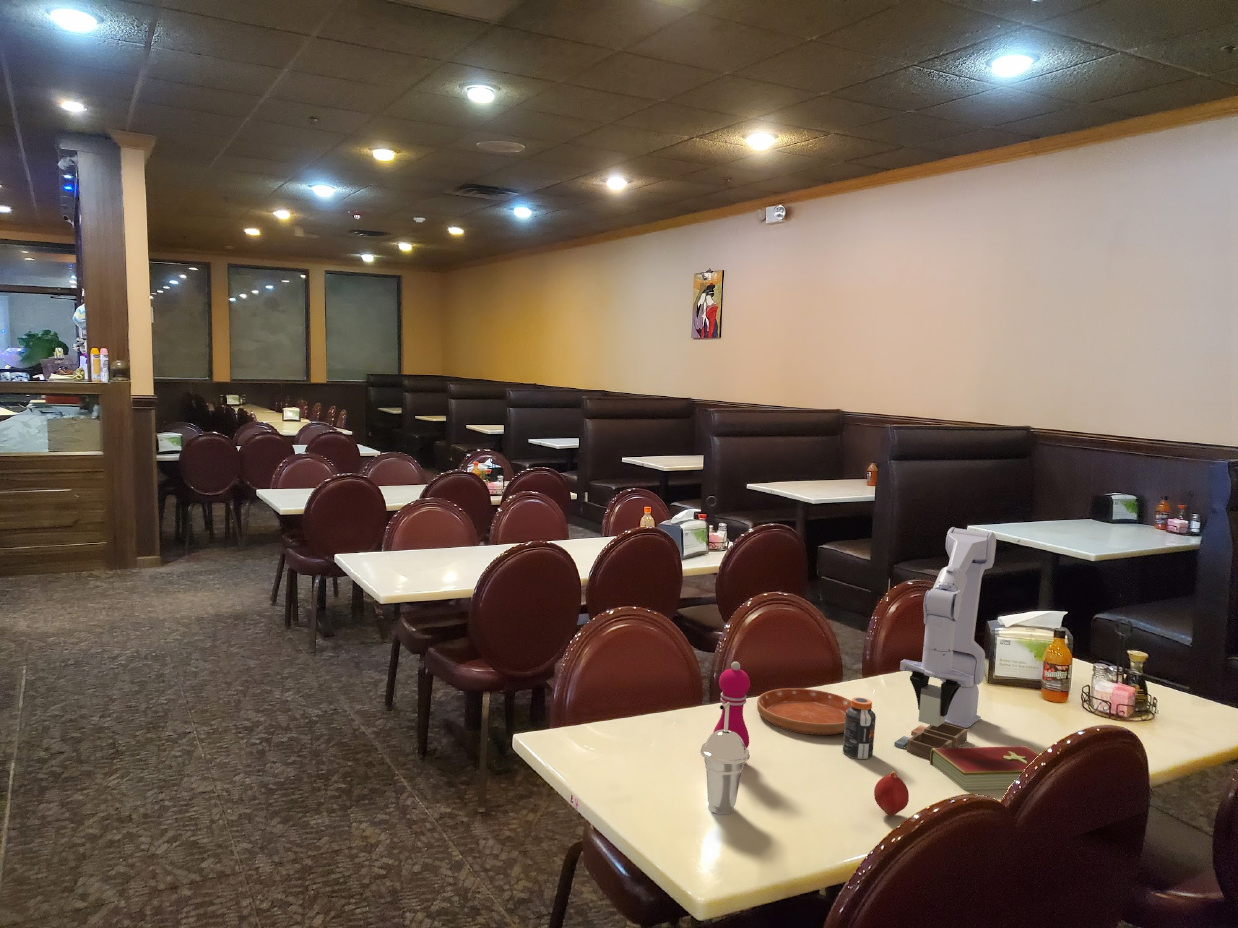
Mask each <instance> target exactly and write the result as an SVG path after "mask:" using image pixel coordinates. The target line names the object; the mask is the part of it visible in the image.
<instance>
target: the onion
mask: <svg viewBox="0 0 1238 928" xmlns="http://www.w3.org/2000/svg"><path fill="white" fill-rule="evenodd" d="M873 795H874V801H875V803H876V804H877V806H878V807H879V808H880V810H882V811H883V812H884V813H885V814H886V815H887V816H888V815H889V816H890V817H892V816H895V815H896V814H898V813H900V812H901V811H904V809H906V807H907V806H908V804H909V802H910V801H909V799H910V798H909V797H910V795H909V789H908V787H907V785H906V783H905V782H904V781H903V780H902V778H900V777H899V776H898V775H897V772H896V771H891V772H890V773H889V774H887V775H884V776H883V777H882V778H880V779H879V780H878V781H877V782H876V784H875V787H874V791H873ZM889 816H888V817H889Z"/></svg>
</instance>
